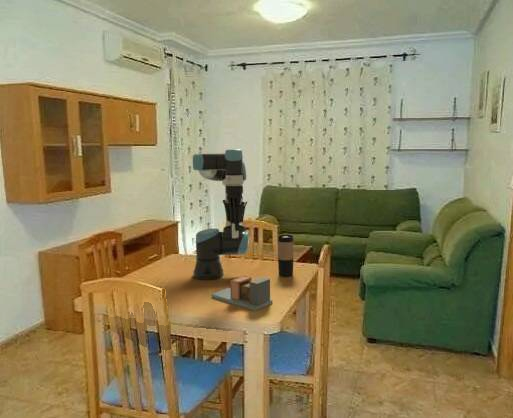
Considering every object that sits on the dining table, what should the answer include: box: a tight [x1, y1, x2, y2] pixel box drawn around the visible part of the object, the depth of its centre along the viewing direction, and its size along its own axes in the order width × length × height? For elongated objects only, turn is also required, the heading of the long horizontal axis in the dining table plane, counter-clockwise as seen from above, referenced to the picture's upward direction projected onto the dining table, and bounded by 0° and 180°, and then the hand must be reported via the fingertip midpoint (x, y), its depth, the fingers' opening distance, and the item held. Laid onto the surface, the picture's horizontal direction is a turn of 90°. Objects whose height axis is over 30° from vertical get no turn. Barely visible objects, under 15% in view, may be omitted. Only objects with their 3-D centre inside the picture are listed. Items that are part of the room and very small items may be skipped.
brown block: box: [239, 282, 250, 301], centre depth 186 cm, size 12×4×6 cm, turn 49°
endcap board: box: [211, 276, 273, 312], centre depth 189 cm, size 25×11×11 cm, turn 49°
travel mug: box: [277, 234, 294, 278], centre depth 224 cm, size 8×8×20 cm
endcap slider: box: [229, 275, 253, 300], centre depth 189 cm, size 4×8×8 cm, turn 139°
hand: (235, 237), depth 199 cm, fingers closed
